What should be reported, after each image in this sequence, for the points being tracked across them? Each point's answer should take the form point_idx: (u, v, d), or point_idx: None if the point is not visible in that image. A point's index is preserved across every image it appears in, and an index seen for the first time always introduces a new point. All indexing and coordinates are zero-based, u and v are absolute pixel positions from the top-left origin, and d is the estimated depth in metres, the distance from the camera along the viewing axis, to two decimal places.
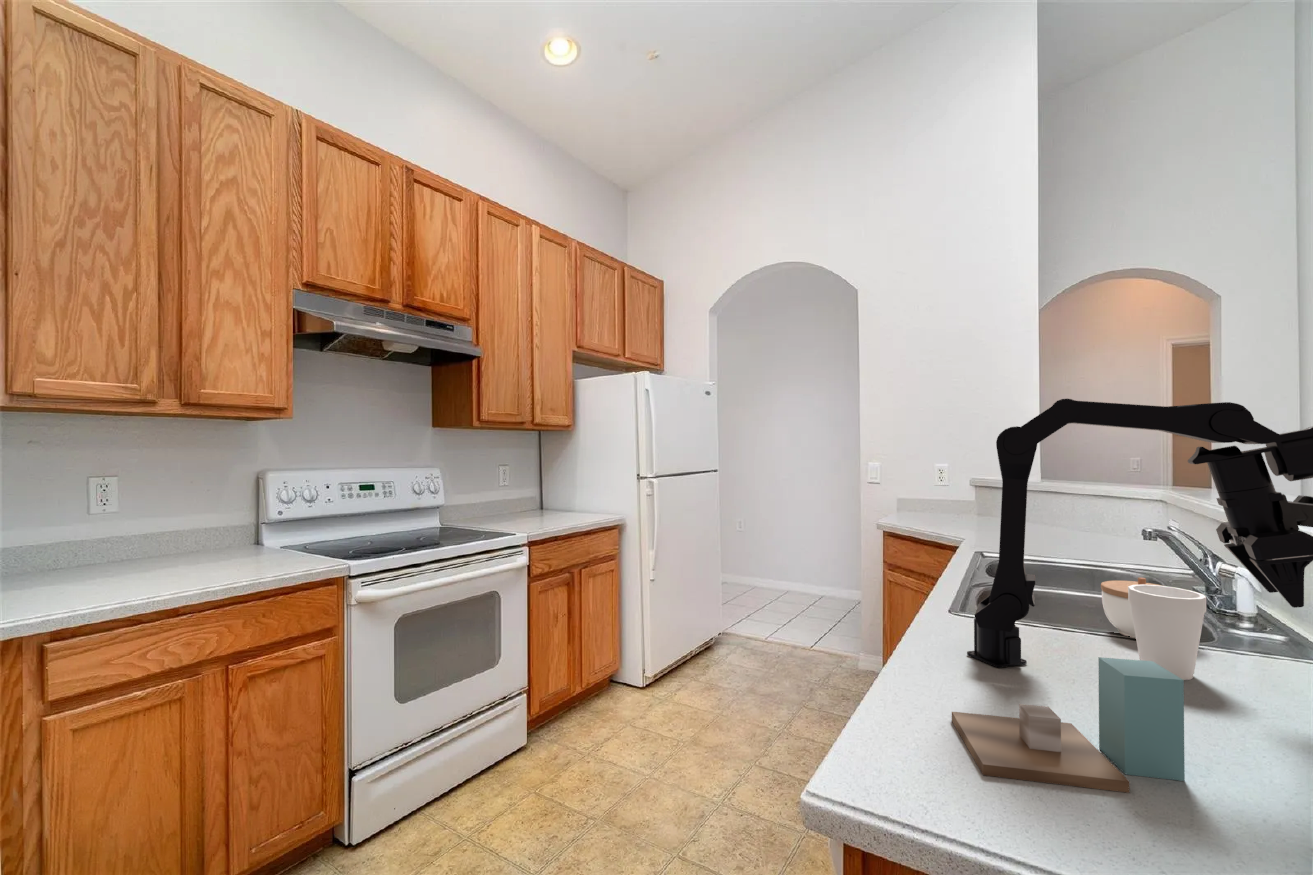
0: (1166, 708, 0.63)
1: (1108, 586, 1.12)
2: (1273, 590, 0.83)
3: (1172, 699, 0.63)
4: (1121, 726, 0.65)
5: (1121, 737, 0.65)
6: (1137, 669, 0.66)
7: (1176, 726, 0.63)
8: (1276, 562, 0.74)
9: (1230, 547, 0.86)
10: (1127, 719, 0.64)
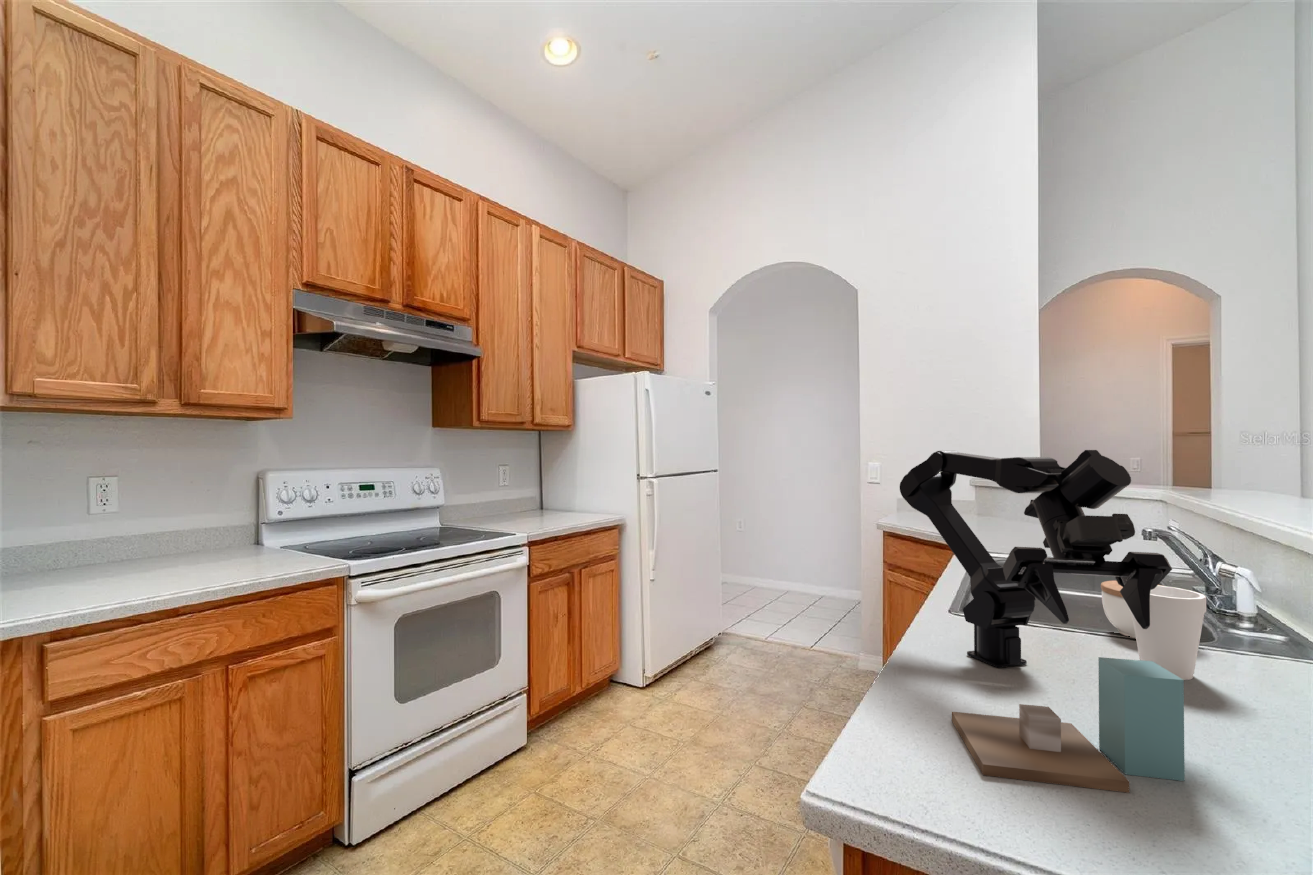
0: (1166, 708, 0.63)
1: (1108, 586, 1.12)
2: (1145, 625, 0.74)
3: (1172, 699, 0.63)
4: (1121, 726, 0.65)
5: (1121, 737, 0.65)
6: (1137, 669, 0.66)
7: (1176, 726, 0.63)
8: (1020, 580, 0.82)
9: (1121, 591, 0.80)
10: (1127, 719, 0.64)
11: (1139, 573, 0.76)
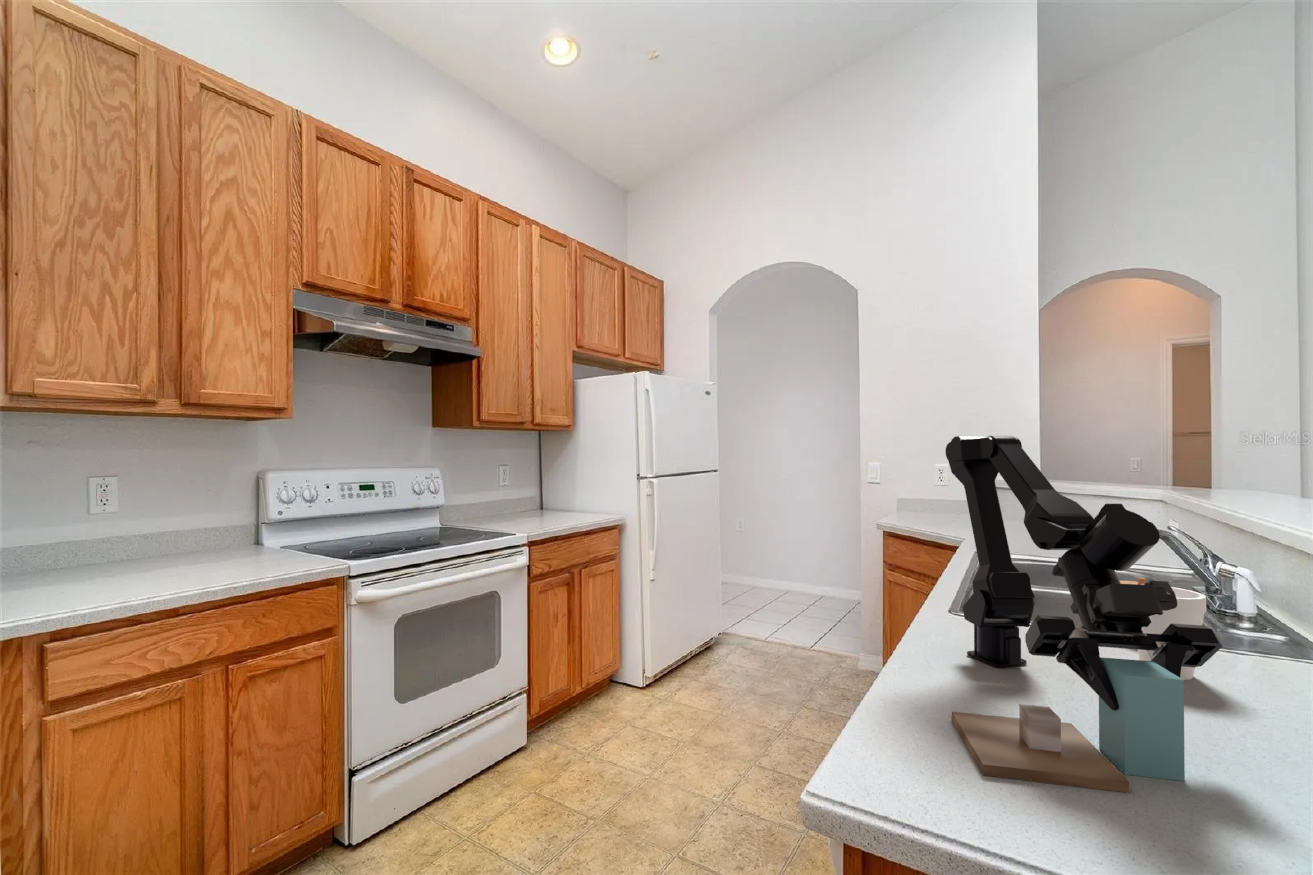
0: (1166, 708, 0.63)
1: None
2: None
3: (1172, 699, 0.63)
4: (1121, 726, 0.65)
5: (1121, 737, 0.65)
6: (1137, 669, 0.66)
7: (1176, 726, 0.63)
8: (1059, 655, 0.72)
9: None
10: (1127, 719, 0.64)
11: (1167, 650, 0.67)
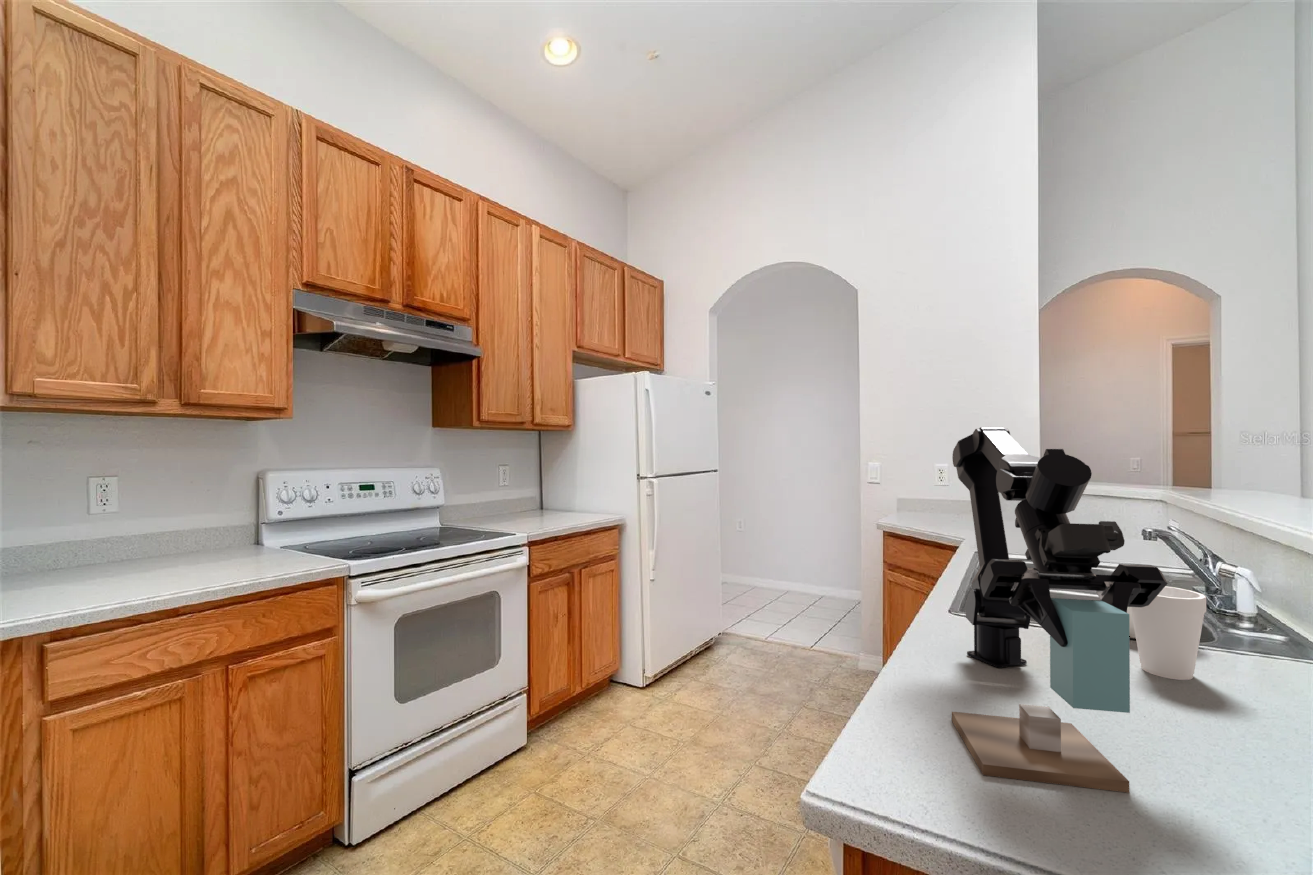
0: (1113, 642, 0.65)
1: None
2: None
3: (1119, 633, 0.64)
4: (1070, 661, 0.66)
5: (1069, 672, 0.66)
6: (1086, 606, 0.67)
7: (1122, 659, 0.64)
8: (1012, 597, 0.73)
9: None
10: (1075, 654, 0.65)
11: (1114, 588, 0.68)
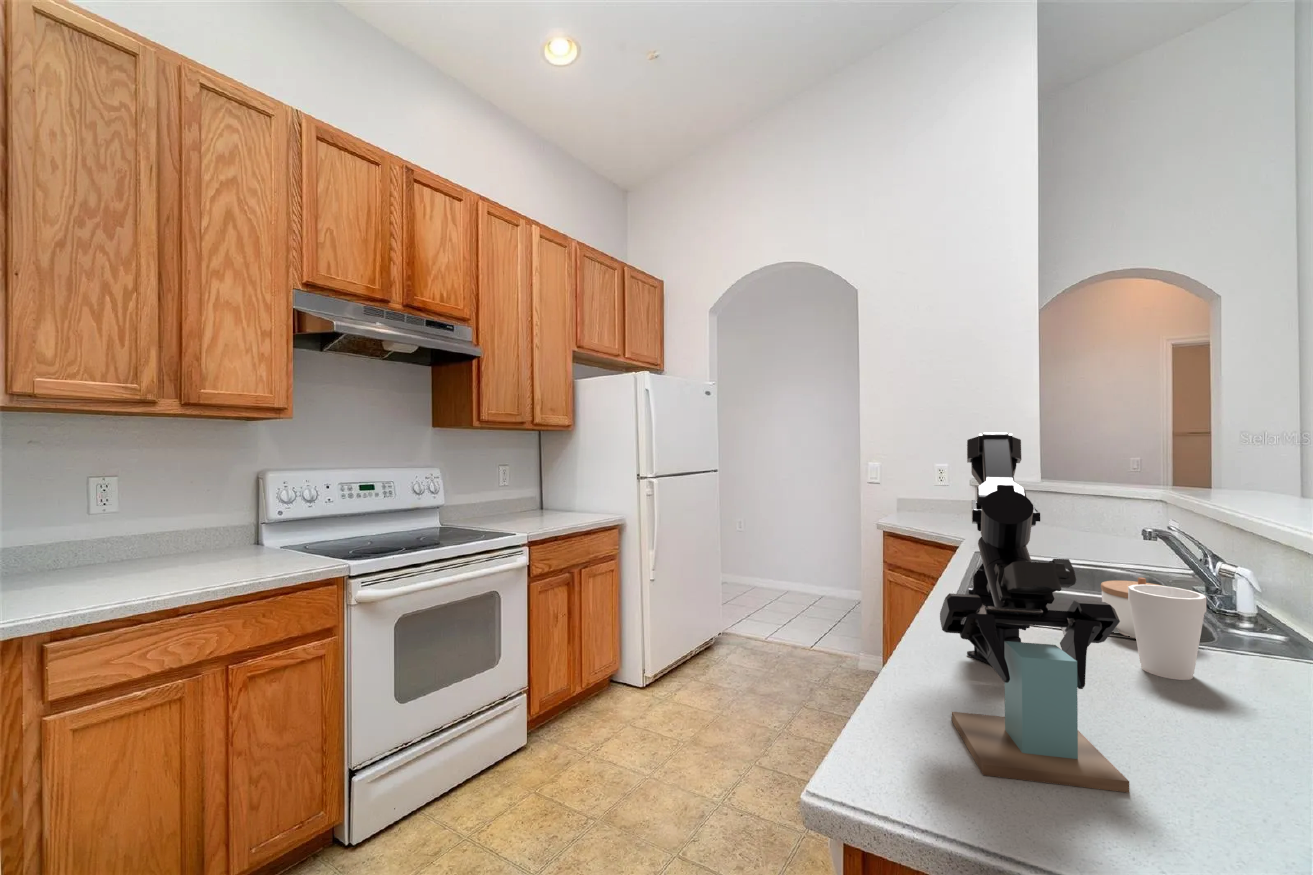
0: (1061, 689, 0.66)
1: (1108, 586, 1.12)
2: (1080, 685, 0.66)
3: (1067, 680, 0.65)
4: (1019, 706, 0.67)
5: (1019, 717, 0.67)
6: (1037, 651, 0.68)
7: (1070, 706, 0.65)
8: (962, 631, 0.74)
9: (1061, 643, 0.73)
10: (1024, 700, 0.66)
11: (1075, 626, 0.69)
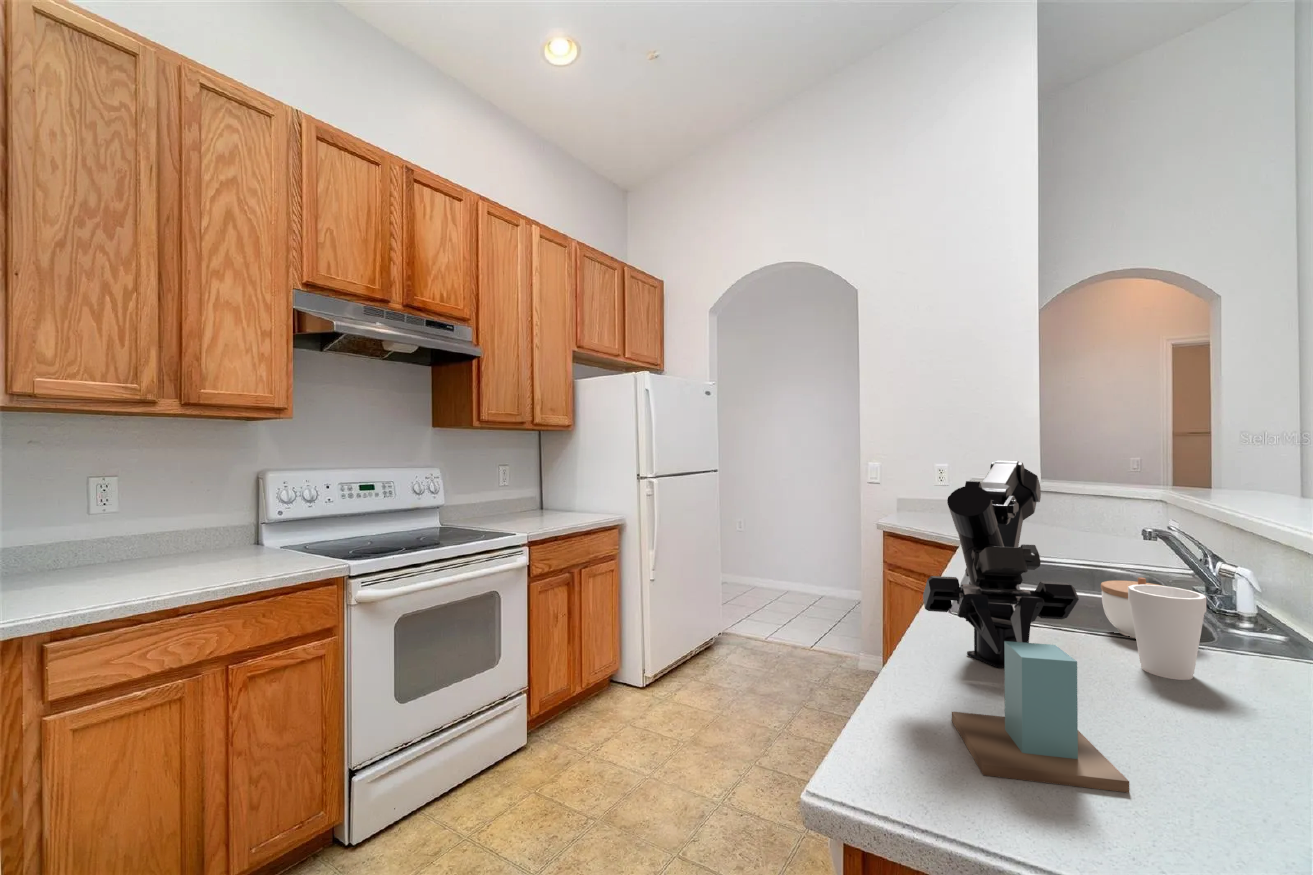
0: (1061, 689, 0.66)
1: (1108, 586, 1.12)
2: None
3: (1067, 680, 0.65)
4: (1019, 706, 0.67)
5: (1019, 717, 0.67)
6: (1037, 651, 0.68)
7: (1070, 706, 0.65)
8: (959, 610, 0.84)
9: (1011, 618, 0.83)
10: (1024, 700, 0.66)
11: (1021, 602, 0.79)
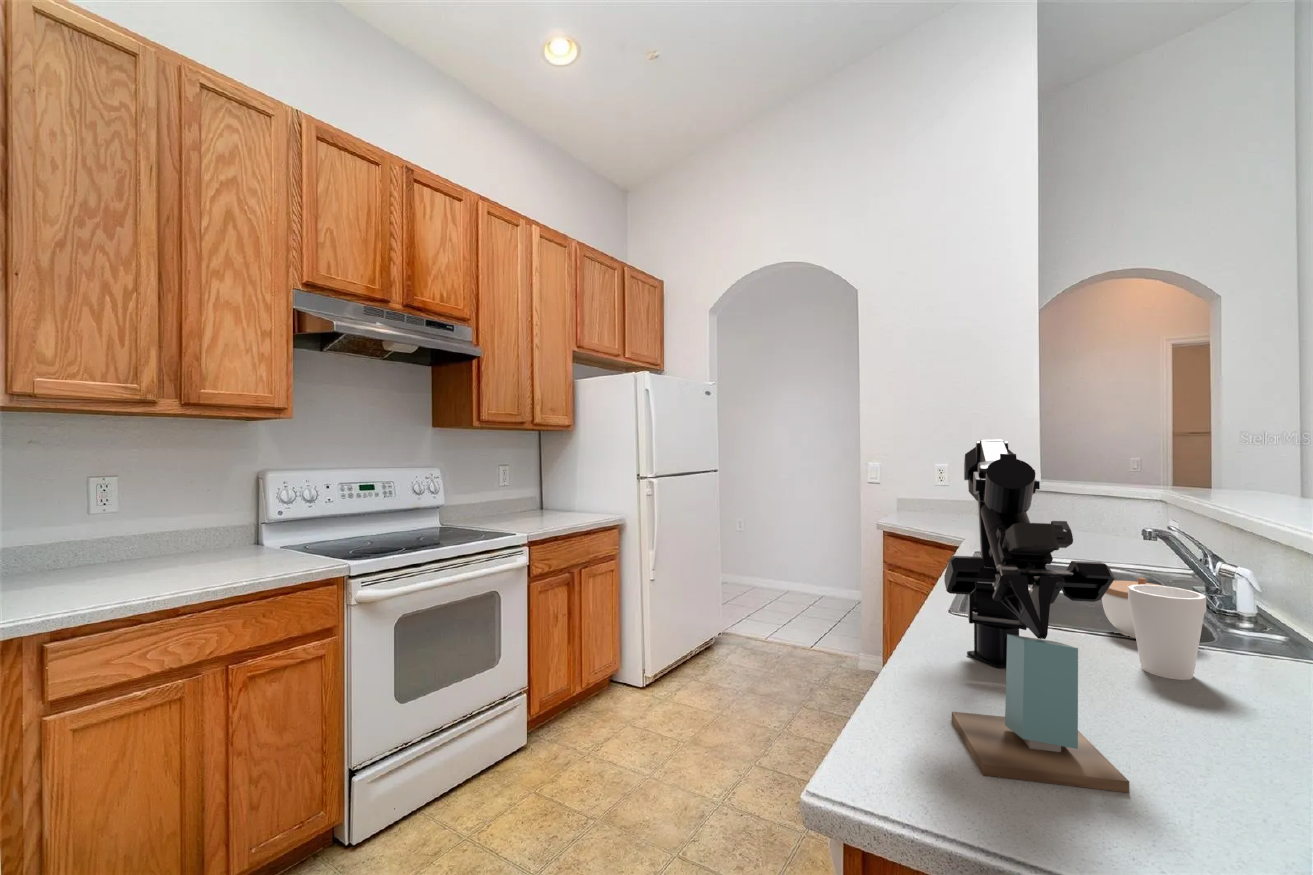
0: (1062, 675, 0.67)
1: None
2: (1043, 635, 0.72)
3: (1068, 666, 0.67)
4: (1021, 692, 0.68)
5: (1020, 703, 0.68)
6: (1039, 640, 0.70)
7: (1070, 693, 0.66)
8: (995, 593, 0.78)
9: None
10: (1025, 683, 0.68)
11: (1040, 581, 0.74)
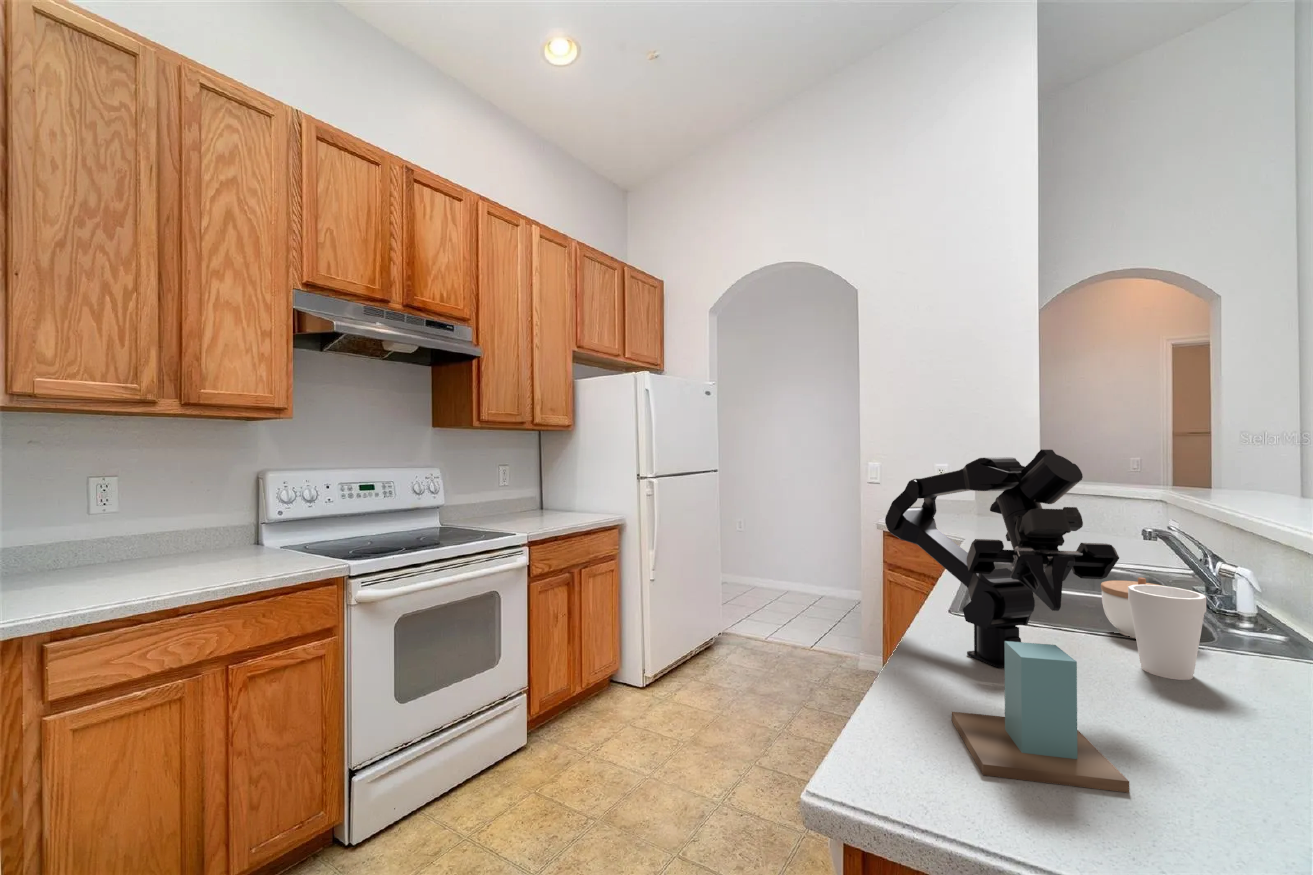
0: (1060, 689, 0.66)
1: (1108, 586, 1.12)
2: (1057, 607, 0.81)
3: (1066, 680, 0.65)
4: (1019, 706, 0.67)
5: (1019, 717, 0.67)
6: (1036, 651, 0.68)
7: (1069, 706, 0.65)
8: (1012, 572, 0.87)
9: None
10: (1023, 700, 0.66)
11: (1053, 561, 0.84)
